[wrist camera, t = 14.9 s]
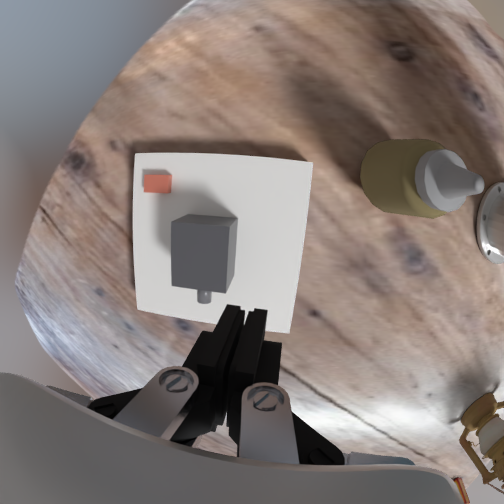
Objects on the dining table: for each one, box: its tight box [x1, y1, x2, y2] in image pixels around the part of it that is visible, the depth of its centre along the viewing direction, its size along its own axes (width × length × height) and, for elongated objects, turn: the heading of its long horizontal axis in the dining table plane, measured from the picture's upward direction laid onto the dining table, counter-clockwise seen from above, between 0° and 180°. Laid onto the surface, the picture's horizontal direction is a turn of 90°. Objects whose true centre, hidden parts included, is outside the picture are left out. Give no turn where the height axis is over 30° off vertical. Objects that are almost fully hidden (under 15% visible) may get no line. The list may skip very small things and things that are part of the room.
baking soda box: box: [453, 478, 470, 504], centre depth 44 cm, size 10×6×16 cm
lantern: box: [459, 393, 504, 494], centre depth 24 cm, size 15×10×30 cm
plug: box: [171, 214, 238, 304], centre depth 29 cm, size 9×6×8 cm, turn 175°
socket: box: [133, 153, 313, 333], centre depth 31 cm, size 20×20×4 cm
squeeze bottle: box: [360, 139, 484, 219], centre depth 20 cm, size 8×8×18 cm
